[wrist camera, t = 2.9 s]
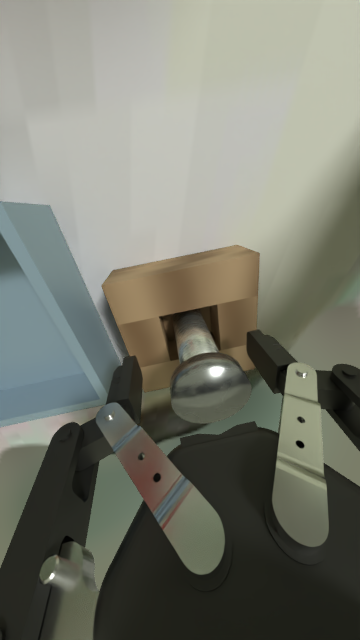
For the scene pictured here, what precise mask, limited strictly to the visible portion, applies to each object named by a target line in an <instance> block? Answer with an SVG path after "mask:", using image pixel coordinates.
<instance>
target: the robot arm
mask: <svg viewBox="0 0 360 640" xmlns="http://www.w3.org/2000/svg"><path fill="white" fill-rule="evenodd" d="M246 350H247V354H248V356H249V358H250V359H251V361H252V362H253V364H254V365H255V367H256V368H257V370H258V371H259V373H260V374H261V376H262V377H263V379H264V380H265V381H266V383H267V384H268V386H269V387H270V389H271V390H272V392H273V393H274V394H276V393H281V394H282V395H283V398H282V405H281V414H280V421H279V428H278V433H277V432H274V431H272V430H269V429H265V428H261V427H257V425H256V423H255V421H253V422H249V423H245V424H240V425H236V426H234V427H232V428H231V429H229V430H227V431H225V432H224V433H222V434H219V435H210V434H196V435H191V436H187V437H183V438H180V441H181V445H179V446H177V447H176V448H174V449H173V450H172V451H171V452H170V453H169V454H168V455H167V456H166V455H165V454H164V453H163V452H162V450H161V449H160V448H159V447H158V446H157V445H156V443H155V442H154V441H153V440H152V439H151V438H150V437H149V435H148V434H147V433H146V432H145V431H144V430H143V428H142V427H141V426H137V424H139V423H140V416H141V400H142V383H143V376H142V371H141V368H140V366H139V363H138V360H137V358H136V356H135V355H134V356H129V357H125V358H124V360H123V365H122V366H118V367H117V368H116V370H115V371H114V373H113V377H112V381H111V385H110V389H109V393H108V397H107V401H106V405H105V406H104V407H102V408H101V409H100V410H99V412H98V413H97V416H96V418H94V419H92V420H90V421H89V422H87V423H85V424H83V425H81V426H79V424H78V423H75V422H71V423H68V424H66V425H64V426H62V427H61V428H60V429H59V430H58V431H57V432H56V433H55V434H54V436H53V437H52V440H51V442H50V445H49V447H48V450H47V452H46V455H45V457H44V460H43V462H42V465H41V467H40V470H39V472H38V475H37V477H36V480H35V482H34V485H33V487H32V490H31V493H30V495H29V498H28V500H27V502H26V505H25V508H24V510H23V513H22V515H21V518H20V520H19V523H18V525H17V528H16V530H15V533H14V535H13V538H12V540H11V543H10V545H9V548H8V550H7V553H6V556H5V558H4V561H3V563H2V565H1V568H0V640H360V487H359V486H358V485H356V484H355V483H353V482H352V481H350V480H349V479H347V478H346V477H344V476H343V475H341V474H340V473H338V472H337V471H335V470H334V469H332V468H331V467H329V466H328V465H326V464H325V463H323V444H322V422H321V409H326V411H327V412H328V413H329V414H330V415H331V417H332V418H333V419H334V420H335V422H336V423H337V424H338V425H339V427H340V428H341V429H342V430H343V431H344V433H345V434H346V435H347V436H348V438H349V439H350V440H351V441H352V442H353V444H354V445H355V446H356V447H357V449H358V450H359V451H360V369H358V368H356V367H354V366H351V365H347V364H337V365H335V366H334V367H333V368H332V371H319V370H314V369H313V368H312V367H311V366H309V365H307V364H304V363H298V362H297V361H296V360H295V359H294V358H293V357H292V356H291V355H290V354H289V353H288V352H287V351H286V350H285V349H284V348H283V347H282V346H281V345H280V344H279V343H278V342H277V340H276V339H275V338H273V337H271V336H269V335H263V334H262V332H261V331H260V330H253V331H249V332H247V342H246ZM113 452H115V454H116V456H117V457H118V459H119V460H120V462H121V464H122V465H123V466H124V468H125V470H126V471H127V473H128V475H129V476H130V478H131V480H132V481H133V483H134V484H135V486H136V487H137V489H138V491H139V492H140V494H141V495H142V497H143V499H144V500H143V502H142V504H141V506H140V508H139V510H138V512H137V514H136V516H135V517H134V519H133V522H132V523H131V525H130V527H129V529H128V531H127V533H126V535H125V537H124V539H123V541H122V543H121V545H120V547H119V549H118V551H117V553H116V555H115V557H114V559H113V561H112V563H111V565H110V566H109V568H108V571H107V573H106V575H105V578H104V580H103V583H102V586H101V589H100V591H99V590H98V589H97V586H96V583H95V577H94V570H95V563H94V557H93V555H92V553H91V552H90V551H89V550H88V549H86V548H85V544H86V538H87V532H88V526H89V520H90V514H91V508H92V502H93V496H94V490H95V484H96V478H97V472H98V466H99V461H100V460H101V459H103V458H105V457H106V456H108V455H110V454H112V453H113Z"/></svg>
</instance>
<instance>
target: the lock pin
mask: <svg viewBox="0 0 360 640" xmlns="http://www.w3.org/2000/svg"><path fill="white" fill-rule="evenodd" d="M172 320H173V326H174V332H175V338H176V344H177V350H178V356H179V362H180V365H179V366H178V367H177V368H176V369H175V371H174V372H173V374H172V376H171V379H170V393H171V404H172V408H173V410H174V412H175V413H176V414H177V415H178V416H179V417H180V418H182V419H184V420H186V421H189V422H193V423H212V422H216V421H220V420H223V419H226V418H228V417H230V416H232V415H234V414H235V413H237V412H238V411H239V410H241V409H242V408H243V407H244V405H245V404H246V403H247V402H248V400H249V398H250V395H251V384H250V381H249V379H248V378H247V376H246V374H245V372H244V371H243V369H242V367H241V365H240V364H239V362H238V361H237V360H236V359H235V358H233V357H231V356H229V355H227V354H224V353H219V351H218V349H217V347H216V344H215V342H214V340H213V338H212V336H211V334H210V332H209V329H208V327H207V325H206V323H205V321H204V319H203V317H202V315H201V312H200V310H199V309H193V310H188V311H183V312H179V313H174V314H173V316H172Z"/></svg>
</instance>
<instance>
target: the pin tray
mask: <svg viewBox="0 0 360 640" xmlns="http://www.w3.org/2000/svg"><path fill="white" fill-rule="evenodd" d="M118 366H121V363H120V361H119V359H118V357H117V354H116V352H115V350H114V348H113V345H112V343H111V341H110V339H109V336H108V334H107V332H106V330H105V328H104V325H103V323H102V321H101V319H100V316H99V314H98V312H97V310H96V308H95V305H94V303H93V301H92V299H91V296H90V294H89V292H88V290H87V287H86V285H85V283H84V281H83V279H82V276H81V274H80V272H79V270H78V267H77V265H76V263H75V261H74V258H73V256H72V254H71V252H70V250H69V247H68V245H67V243H66V241H65V238H64V236H63V234H62V232H61V229H60V227H59V225H58V223H57V221H56V218H55V216H54V214H53V212H52V209H51V207H50V205H38V204H26V203H14V202H2V201H0V427H4V426H8V425H13V424H18V423H22V422H27V421H31V420H36V419H41V418H45V417H50V416H55V415H59V414H64V413H68V412H73V411H78V410H82V409H87V408H91V407H96V406H101V405H105V404H106V401H107V397H108V393H109V389H110V385H111V381H112V377H113V373H114V371H115V370H116V368H117V367H118Z"/></svg>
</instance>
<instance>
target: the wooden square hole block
mask: <svg viewBox="0 0 360 640" xmlns="http://www.w3.org/2000/svg"><path fill="white" fill-rule="evenodd" d="M259 256H260V253H258V252H255V251H252V250H250V249H247V248H244V247H242V246H239V245H234V246H230V247H225V248H220V249H215V250H210V251H205V252H200V253H195V254H191V255H186V256H181V257H176V258H171V259H166V260H161V261H156V262H152V263H147V264H142V265H137V266H132V267H127V268H122V269H117V270H113V271H112V272H111V273H110V275H109V276H108V278H107V279H106V280H105V282H104V283H103V284H102V289H103V291H104V294H105V296H106V299H107V301H108V304H109V306H110V308H111V311H112V313H113V316H114V318H115V321H116V323H117V326H118V328H119V331H120V333H121V336H122V338H123V341H124V343H125V346H126V348H127V351H128V353H129V355H130V356H134V355H135V356H136V358H137V360H138V363H139V366H140V368H141V371H142V376H143V383H142V388H143V390H144V393H145V392H149V391H154V390H159V389H163V388H168V387H170V379H171V376H172V374H173V372H174V371H175V369H176V368H177V367H178V366H179V365H180V362H179V356H178V350H177V344H176V338H175V332H174V326H173V320H172V316H173V314H174V313H179V312H183V311H188V310H193V309H199V310H200V312H201V315H202V317H203V319H204V321H205V323H206V325H207V327H208V329H209V332H210V334H211V336H212V338H213V340H214V342H215V344H216V347H217V349H218V351H219V353H224V354H227V355H229V356H231V357H233V358H235V359H236V360H237V361H238V362H239V364H240V365H241V367H242V369H243V371H246V370H251V369H255V365H254V364H253V362H252V361H251V359H250V358H249V356H248V354H247V350H246V342H247V332H249V331H253V330H257V305H258V280H259Z"/></svg>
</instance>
